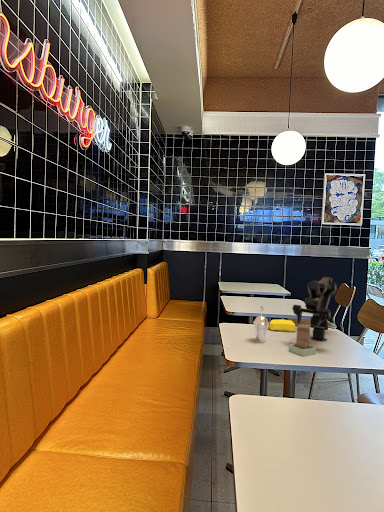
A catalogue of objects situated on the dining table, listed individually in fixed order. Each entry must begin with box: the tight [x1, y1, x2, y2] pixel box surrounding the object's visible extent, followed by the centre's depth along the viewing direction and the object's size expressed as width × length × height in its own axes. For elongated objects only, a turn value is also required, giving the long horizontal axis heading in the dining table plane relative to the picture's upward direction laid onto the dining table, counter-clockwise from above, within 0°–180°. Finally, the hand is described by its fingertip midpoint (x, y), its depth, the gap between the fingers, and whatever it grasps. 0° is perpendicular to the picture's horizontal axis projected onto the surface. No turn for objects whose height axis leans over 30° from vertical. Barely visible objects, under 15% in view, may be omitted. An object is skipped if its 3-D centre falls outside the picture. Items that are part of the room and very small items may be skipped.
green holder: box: [288, 343, 317, 357], centre depth 171 cm, size 9×9×3 cm
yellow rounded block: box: [267, 318, 297, 333], centre depth 213 cm, size 18×7×8 cm
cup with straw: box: [252, 306, 270, 343], centre depth 186 cm, size 8×9×20 cm
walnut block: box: [295, 324, 311, 350], centre depth 171 cm, size 5×5×13 cm
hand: (307, 325), depth 176 cm, fingers open, 9 cm apart
